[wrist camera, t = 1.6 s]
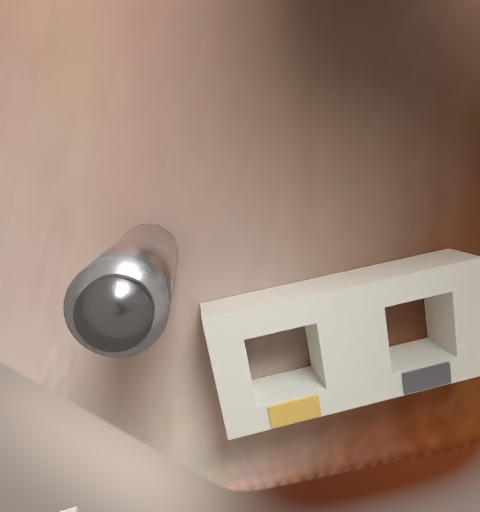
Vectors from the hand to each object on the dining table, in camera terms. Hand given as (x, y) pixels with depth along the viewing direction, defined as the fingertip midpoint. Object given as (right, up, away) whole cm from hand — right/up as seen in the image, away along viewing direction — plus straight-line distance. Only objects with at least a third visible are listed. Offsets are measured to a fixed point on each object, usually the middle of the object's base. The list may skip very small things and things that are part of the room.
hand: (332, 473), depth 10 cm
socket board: (+6, -1, +23) cm, 24 cm away
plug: (-10, +6, +20) cm, 23 cm away
